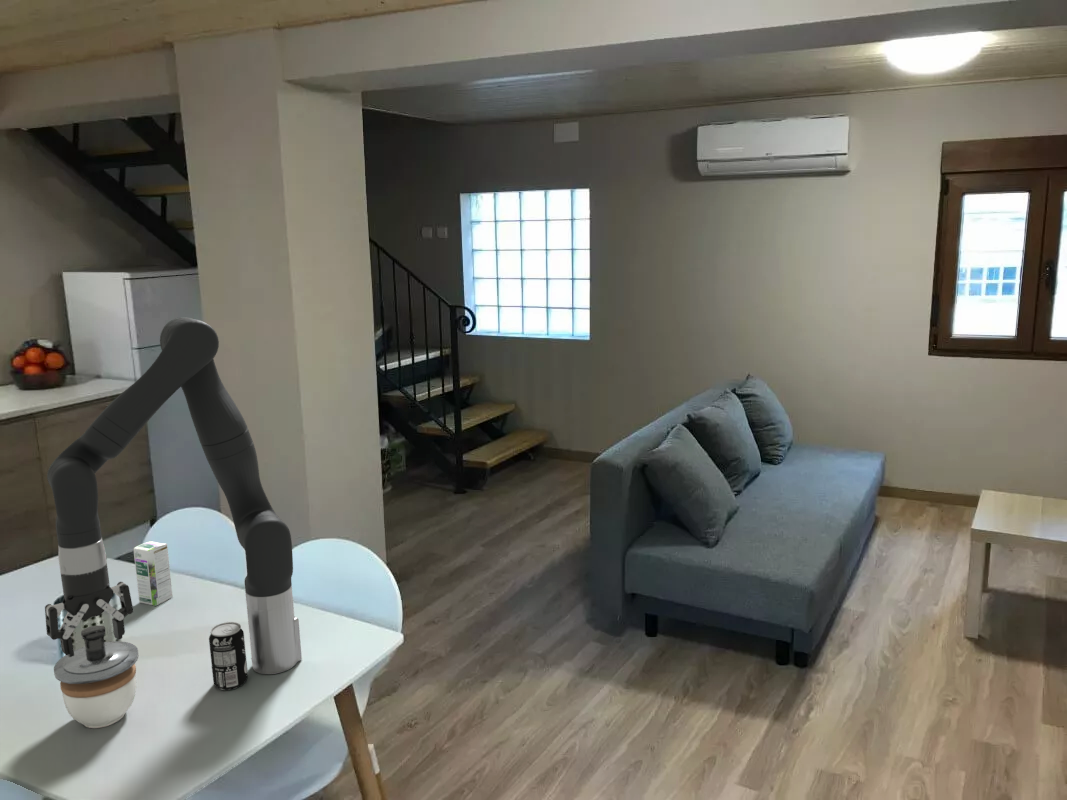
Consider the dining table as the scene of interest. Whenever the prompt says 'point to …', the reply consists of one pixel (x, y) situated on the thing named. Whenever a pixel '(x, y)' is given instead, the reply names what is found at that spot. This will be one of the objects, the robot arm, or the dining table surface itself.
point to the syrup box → (153, 573)
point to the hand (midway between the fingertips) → (94, 646)
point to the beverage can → (228, 656)
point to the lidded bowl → (100, 699)
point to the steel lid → (96, 659)
